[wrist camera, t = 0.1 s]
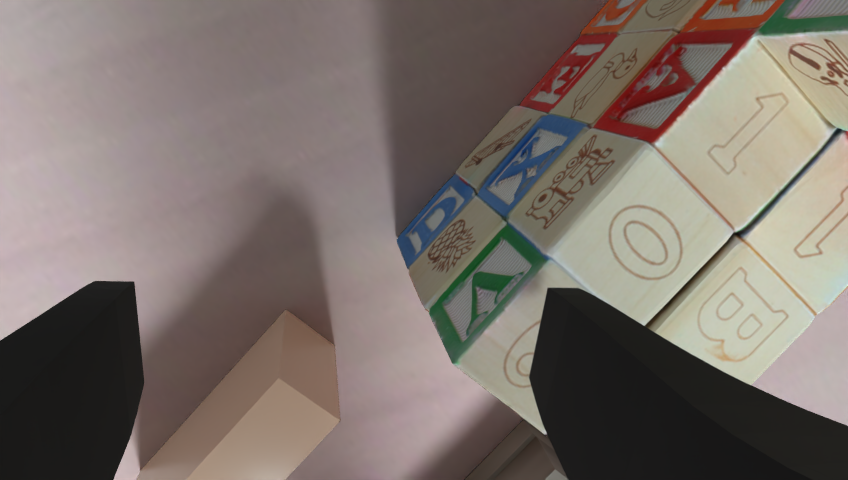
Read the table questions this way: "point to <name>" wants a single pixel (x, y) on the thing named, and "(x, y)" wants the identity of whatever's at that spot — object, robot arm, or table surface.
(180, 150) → the table surface
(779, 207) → the stack of blocks
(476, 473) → the shallow rectangular tray
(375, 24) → the table surface
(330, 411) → the tan rectangular block
